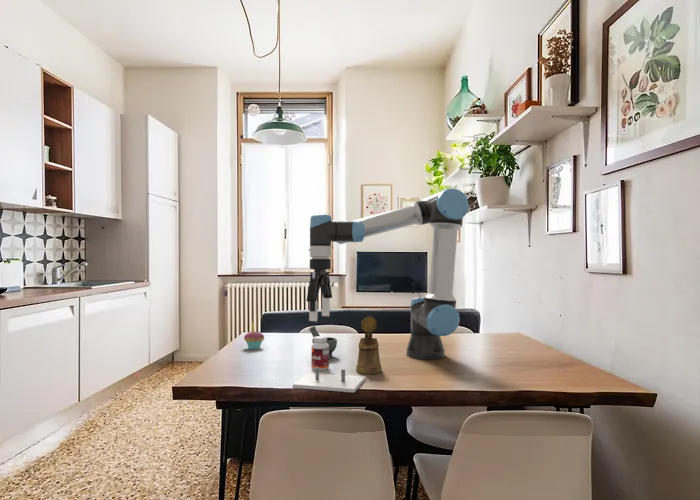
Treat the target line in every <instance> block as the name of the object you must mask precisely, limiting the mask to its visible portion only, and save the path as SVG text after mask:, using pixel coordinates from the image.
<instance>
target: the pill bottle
mask: <svg viewBox="0 0 700 500" xmlns="http://www.w3.org/2000/svg"><path fill="white" fill-rule="evenodd" d="M313 339H314V343H312V344H311V361H310V362H311V365H310V366H311V369H312V370H314V371H315V368H319V371H326V370H328V369H329V367H330V358H329V344H328V343H326V341H327V336H325V335H320V336H316V337H314V338H313Z"/></svg>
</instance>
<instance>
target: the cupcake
mask: <svg viewBox="0 0 700 500" xmlns="http://www.w3.org/2000/svg"><path fill="white" fill-rule="evenodd" d="M251 325H252V328H251V330H252V331H249V332H247V333H246V334H245V335H244V336H243V337H244V338H243V340H244V341H245V342H246V344H247V347H248V349H249V350H258V349H261V345H262V343H263V341H264V340H265V336H264V334H263V333H261V332H259V331H255V323H254V322H252V323H251Z"/></svg>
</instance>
